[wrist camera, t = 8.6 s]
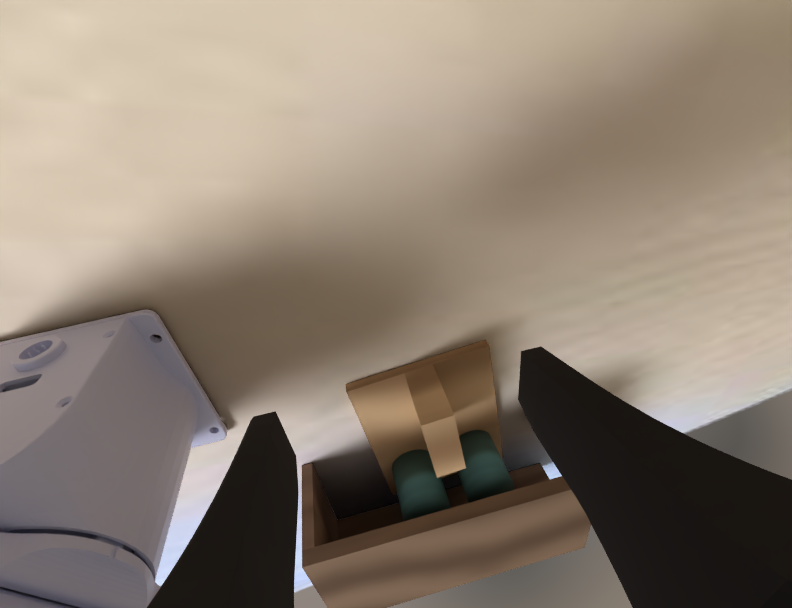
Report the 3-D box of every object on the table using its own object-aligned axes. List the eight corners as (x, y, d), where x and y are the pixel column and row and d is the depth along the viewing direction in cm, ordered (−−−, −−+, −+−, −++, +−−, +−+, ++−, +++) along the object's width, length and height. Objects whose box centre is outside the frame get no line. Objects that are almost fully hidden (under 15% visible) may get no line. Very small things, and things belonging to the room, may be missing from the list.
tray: (345, 380, 24) (354, 447, 20) (482, 335, 25) (519, 393, 21) (390, 483, 31) (404, 549, 27) (497, 447, 32) (527, 507, 28)
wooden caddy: (301, 465, 27) (302, 567, 22) (546, 400, 29) (602, 480, 24) (330, 526, 32) (337, 622, 27) (539, 467, 34) (584, 547, 28)
